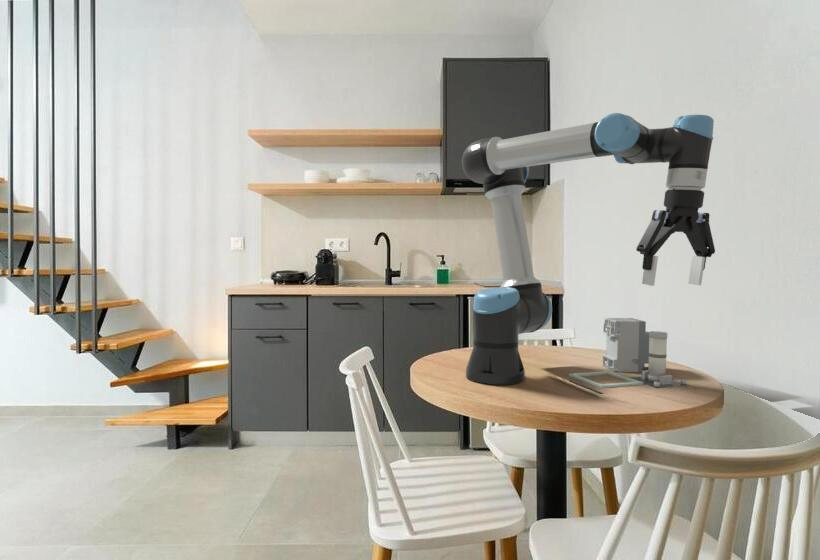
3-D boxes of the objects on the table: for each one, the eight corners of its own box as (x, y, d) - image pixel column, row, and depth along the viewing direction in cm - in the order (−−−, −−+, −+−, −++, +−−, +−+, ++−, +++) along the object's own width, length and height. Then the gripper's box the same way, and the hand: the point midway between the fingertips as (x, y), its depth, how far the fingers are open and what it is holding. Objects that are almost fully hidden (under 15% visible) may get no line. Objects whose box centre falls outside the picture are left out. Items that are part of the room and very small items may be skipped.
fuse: (656, 383, 112) (658, 334, 112) (643, 379, 116) (645, 331, 115) (669, 382, 113) (671, 333, 113) (656, 378, 117) (658, 331, 117)
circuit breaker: (667, 377, 125) (668, 321, 124) (613, 377, 125) (614, 321, 124) (653, 371, 132) (654, 318, 131) (602, 370, 132) (603, 317, 132)
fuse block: (656, 394, 108) (656, 379, 108) (624, 383, 118) (625, 369, 118) (690, 391, 111) (690, 376, 111) (656, 381, 121) (657, 367, 121)
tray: (601, 394, 108) (601, 385, 108) (568, 381, 119) (569, 373, 119) (643, 390, 112) (643, 382, 111) (607, 378, 123) (608, 371, 123)
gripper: (653, 185, 96) (640, 287, 99) (742, 192, 103) (728, 287, 107) (626, 186, 103) (615, 281, 106) (711, 192, 110) (698, 281, 114)
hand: (671, 284), depth 106 cm, fingers open, 13 cm apart
